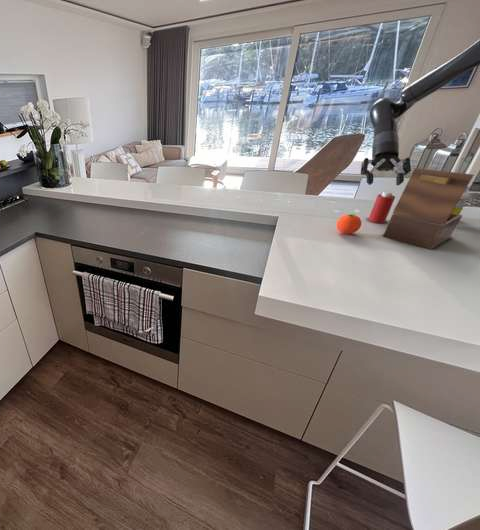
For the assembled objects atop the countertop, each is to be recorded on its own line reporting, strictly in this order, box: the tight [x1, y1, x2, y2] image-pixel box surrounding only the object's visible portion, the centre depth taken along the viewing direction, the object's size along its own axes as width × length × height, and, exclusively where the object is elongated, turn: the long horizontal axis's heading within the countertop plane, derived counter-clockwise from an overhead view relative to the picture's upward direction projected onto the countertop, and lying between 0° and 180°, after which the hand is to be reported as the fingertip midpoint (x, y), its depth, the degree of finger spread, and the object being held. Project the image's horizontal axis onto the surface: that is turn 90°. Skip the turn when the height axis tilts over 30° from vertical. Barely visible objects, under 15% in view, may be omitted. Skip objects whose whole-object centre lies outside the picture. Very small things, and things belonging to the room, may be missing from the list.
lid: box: [392, 167, 475, 225], centre depth 86 cm, size 14×13×5 cm
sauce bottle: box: [367, 190, 396, 224], centre depth 107 cm, size 5×5×11 cm
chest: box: [383, 213, 463, 250], centre depth 95 cm, size 14×13×8 cm
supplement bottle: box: [452, 183, 471, 215], centre depth 103 cm, size 7×7×13 cm
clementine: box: [336, 213, 362, 235], centre depth 102 cm, size 8×7×7 cm
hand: (384, 184), depth 107 cm, fingers open, 8 cm apart
